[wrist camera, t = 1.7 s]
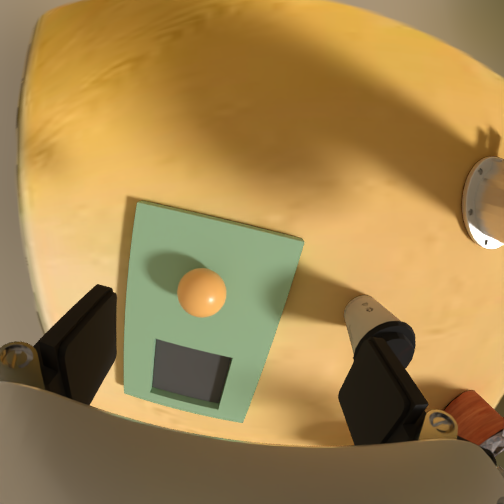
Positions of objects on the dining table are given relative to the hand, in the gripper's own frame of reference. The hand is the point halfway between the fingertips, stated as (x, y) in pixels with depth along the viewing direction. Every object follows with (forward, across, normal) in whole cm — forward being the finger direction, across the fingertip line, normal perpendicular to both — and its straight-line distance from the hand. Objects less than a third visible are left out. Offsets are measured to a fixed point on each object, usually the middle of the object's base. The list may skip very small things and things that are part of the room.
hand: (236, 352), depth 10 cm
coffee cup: (+22, -16, +7) cm, 29 cm away
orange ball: (+19, +3, +7) cm, 20 cm away
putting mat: (+23, +3, +14) cm, 27 cm away
